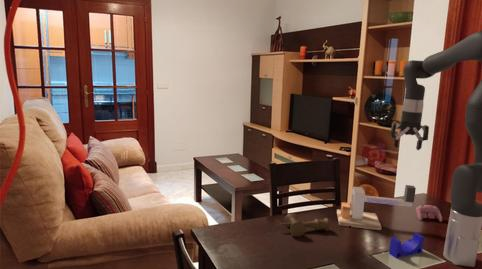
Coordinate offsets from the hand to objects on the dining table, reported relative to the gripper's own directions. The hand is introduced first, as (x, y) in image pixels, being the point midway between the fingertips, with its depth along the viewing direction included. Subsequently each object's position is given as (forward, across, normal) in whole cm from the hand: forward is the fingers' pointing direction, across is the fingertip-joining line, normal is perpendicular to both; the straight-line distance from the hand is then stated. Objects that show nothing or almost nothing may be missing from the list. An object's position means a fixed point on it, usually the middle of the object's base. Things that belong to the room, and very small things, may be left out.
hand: (406, 148), depth 146 cm
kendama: (+31, -40, -25) cm, 56 cm away
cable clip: (+30, -6, -32) cm, 44 cm away
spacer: (+29, -23, -10) cm, 38 cm away
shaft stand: (+30, -18, -10) cm, 36 cm away
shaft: (+21, -7, -10) cm, 24 cm away
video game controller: (+30, +13, +1) cm, 33 cm away
